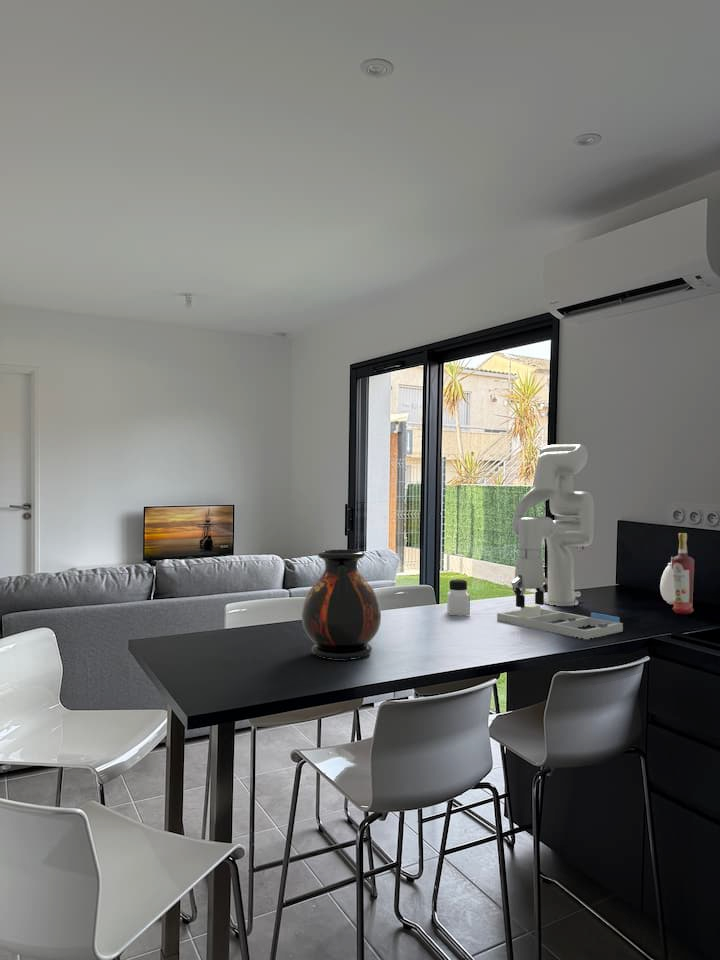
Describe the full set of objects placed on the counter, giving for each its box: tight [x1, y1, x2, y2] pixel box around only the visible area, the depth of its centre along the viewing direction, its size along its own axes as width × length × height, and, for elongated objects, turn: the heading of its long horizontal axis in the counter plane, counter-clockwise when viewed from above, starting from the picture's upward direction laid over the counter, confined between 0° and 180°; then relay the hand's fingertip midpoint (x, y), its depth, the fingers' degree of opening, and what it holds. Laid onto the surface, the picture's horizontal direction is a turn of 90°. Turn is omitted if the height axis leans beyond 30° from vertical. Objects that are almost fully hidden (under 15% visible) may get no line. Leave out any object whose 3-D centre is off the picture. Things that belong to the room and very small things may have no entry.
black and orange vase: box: [301, 549, 382, 659], centre depth 192 cm, size 22×22×28 cm
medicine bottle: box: [446, 578, 471, 616], centre depth 247 cm, size 7×7×12 cm
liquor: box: [670, 532, 695, 616], centre depth 246 cm, size 7×7×28 cm
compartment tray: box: [496, 607, 624, 640], centre depth 227 cm, size 19×35×4 cm, turn 37°
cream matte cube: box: [520, 603, 541, 618], centre depth 236 cm, size 4×4×5 cm
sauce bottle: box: [659, 555, 674, 605], centre depth 264 cm, size 8×8×18 cm
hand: (529, 605), depth 235 cm, fingers open, 9 cm apart
